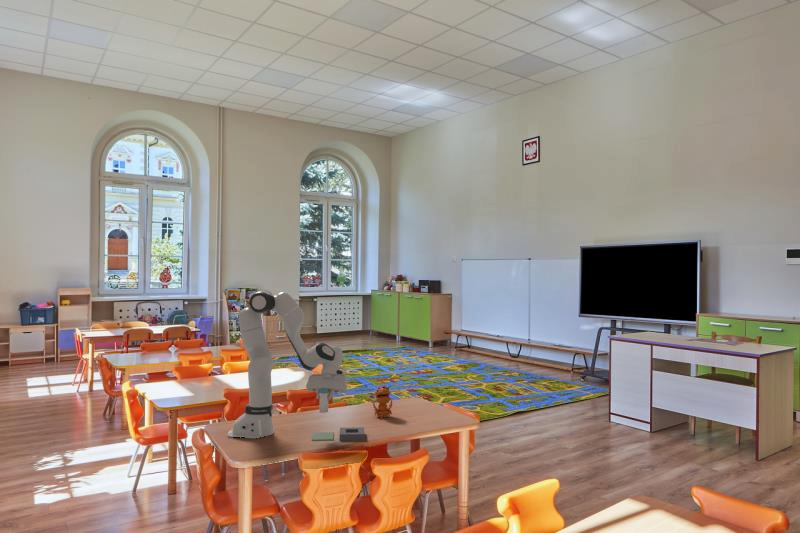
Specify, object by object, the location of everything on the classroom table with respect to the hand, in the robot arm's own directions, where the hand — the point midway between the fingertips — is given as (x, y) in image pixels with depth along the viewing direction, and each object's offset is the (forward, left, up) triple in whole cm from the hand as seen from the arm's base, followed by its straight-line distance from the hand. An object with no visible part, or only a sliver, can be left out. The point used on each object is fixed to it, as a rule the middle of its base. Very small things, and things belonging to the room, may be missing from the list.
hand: (323, 398), depth 266 cm
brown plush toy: (+32, +42, -20) cm, 56 cm away
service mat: (0, +1, -20) cm, 20 cm away
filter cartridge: (0, +1, -7) cm, 7 cm away
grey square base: (+14, 0, -20) cm, 24 cm away
